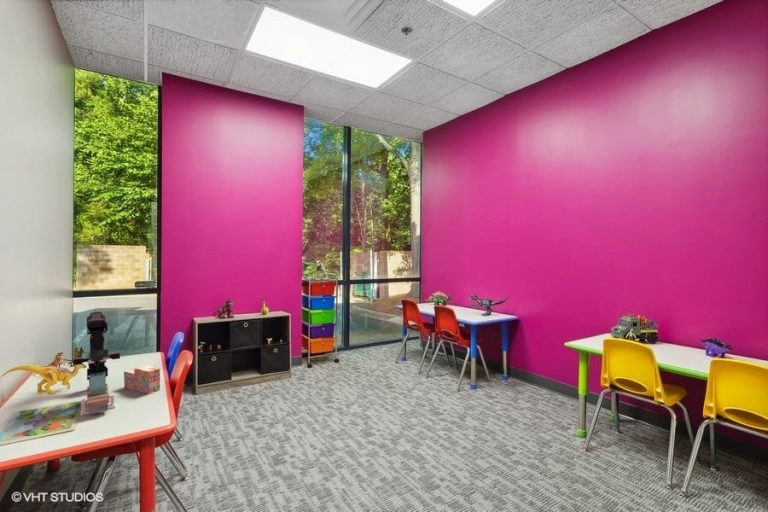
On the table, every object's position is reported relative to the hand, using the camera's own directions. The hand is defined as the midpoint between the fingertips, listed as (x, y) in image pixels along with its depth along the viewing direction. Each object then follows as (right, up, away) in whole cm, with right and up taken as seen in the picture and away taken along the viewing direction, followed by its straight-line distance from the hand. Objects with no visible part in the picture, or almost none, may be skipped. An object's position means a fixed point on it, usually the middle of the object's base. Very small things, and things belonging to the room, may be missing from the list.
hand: (97, 375), depth 186 cm
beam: (+6, -11, -7) cm, 15 cm away
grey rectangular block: (+6, -6, -8) cm, 12 cm away
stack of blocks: (+12, -13, +16) cm, 24 cm away
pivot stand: (+9, -13, -11) cm, 19 cm away
